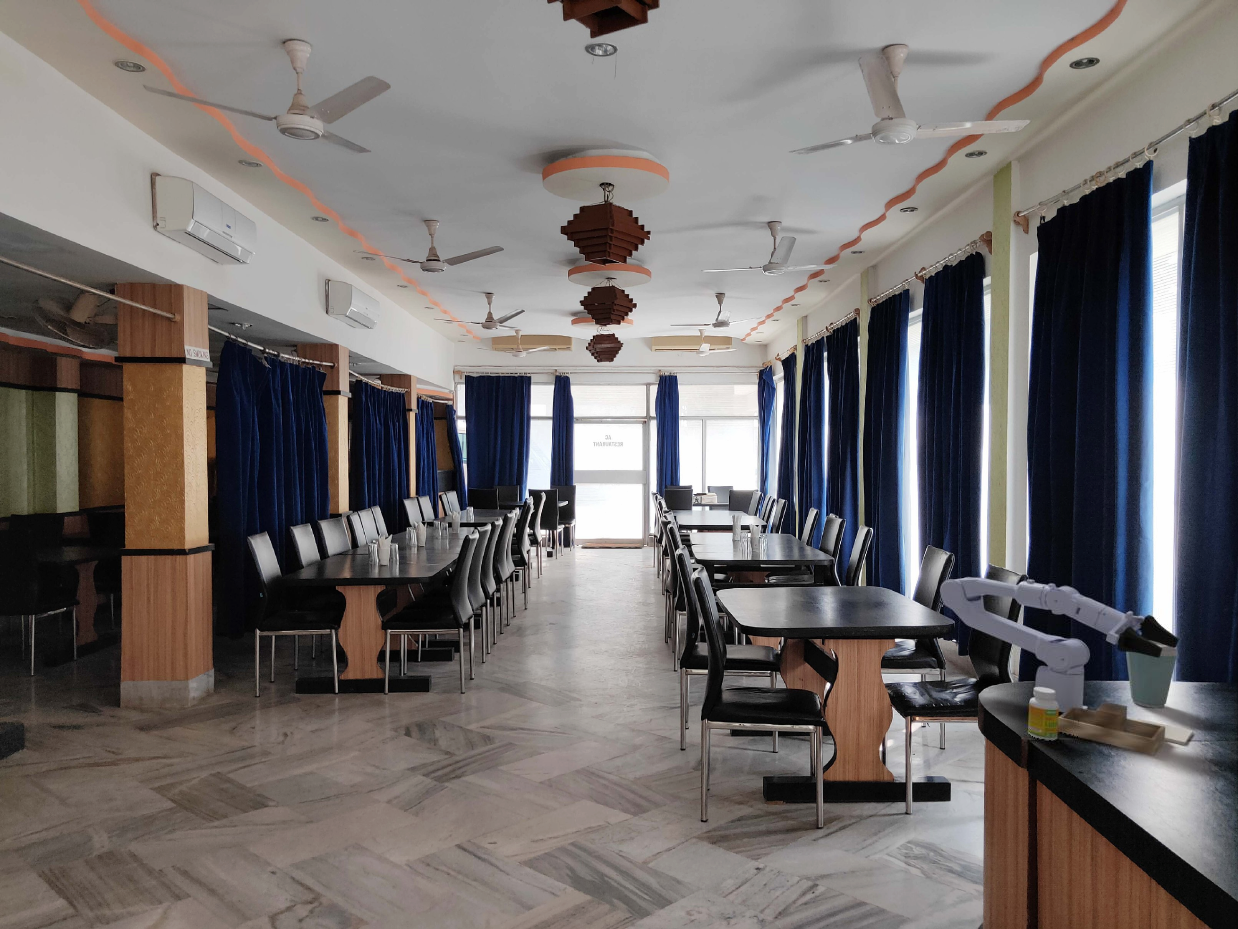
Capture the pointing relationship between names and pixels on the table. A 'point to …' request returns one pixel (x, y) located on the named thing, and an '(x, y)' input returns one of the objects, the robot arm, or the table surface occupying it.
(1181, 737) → the pad
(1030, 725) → the supplement bottle
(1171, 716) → the table surface
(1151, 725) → the frame
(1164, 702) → the disposable coffee cup
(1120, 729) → the block
